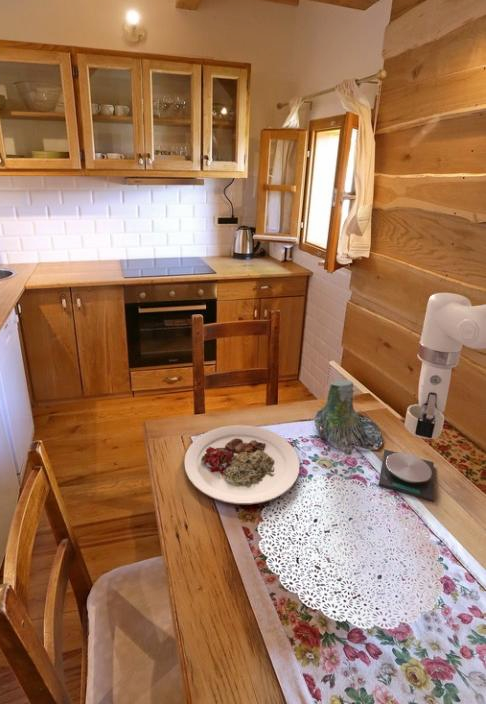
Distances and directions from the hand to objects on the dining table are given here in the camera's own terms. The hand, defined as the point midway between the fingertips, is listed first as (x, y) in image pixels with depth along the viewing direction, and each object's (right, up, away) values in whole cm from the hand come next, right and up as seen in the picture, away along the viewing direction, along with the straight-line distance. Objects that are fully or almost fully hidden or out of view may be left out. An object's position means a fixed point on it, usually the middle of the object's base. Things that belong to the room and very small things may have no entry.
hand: (423, 424), depth 90 cm
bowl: (0, -1, +1) cm, 1 cm away
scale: (+2, -17, +13) cm, 21 cm away
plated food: (-39, -15, +18) cm, 46 cm away
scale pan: (+2, -15, +12) cm, 19 cm away
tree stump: (-8, -10, +31) cm, 33 cm away
